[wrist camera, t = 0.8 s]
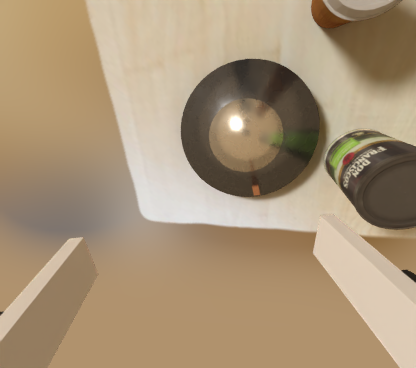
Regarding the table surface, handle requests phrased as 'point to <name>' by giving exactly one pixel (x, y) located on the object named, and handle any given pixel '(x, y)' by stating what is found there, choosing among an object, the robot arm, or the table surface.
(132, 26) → the table surface
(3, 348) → the robot arm
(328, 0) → the disposable coffee cup
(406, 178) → the coffee can
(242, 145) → the turntable platter
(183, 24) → the table surface
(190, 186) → the table surface
